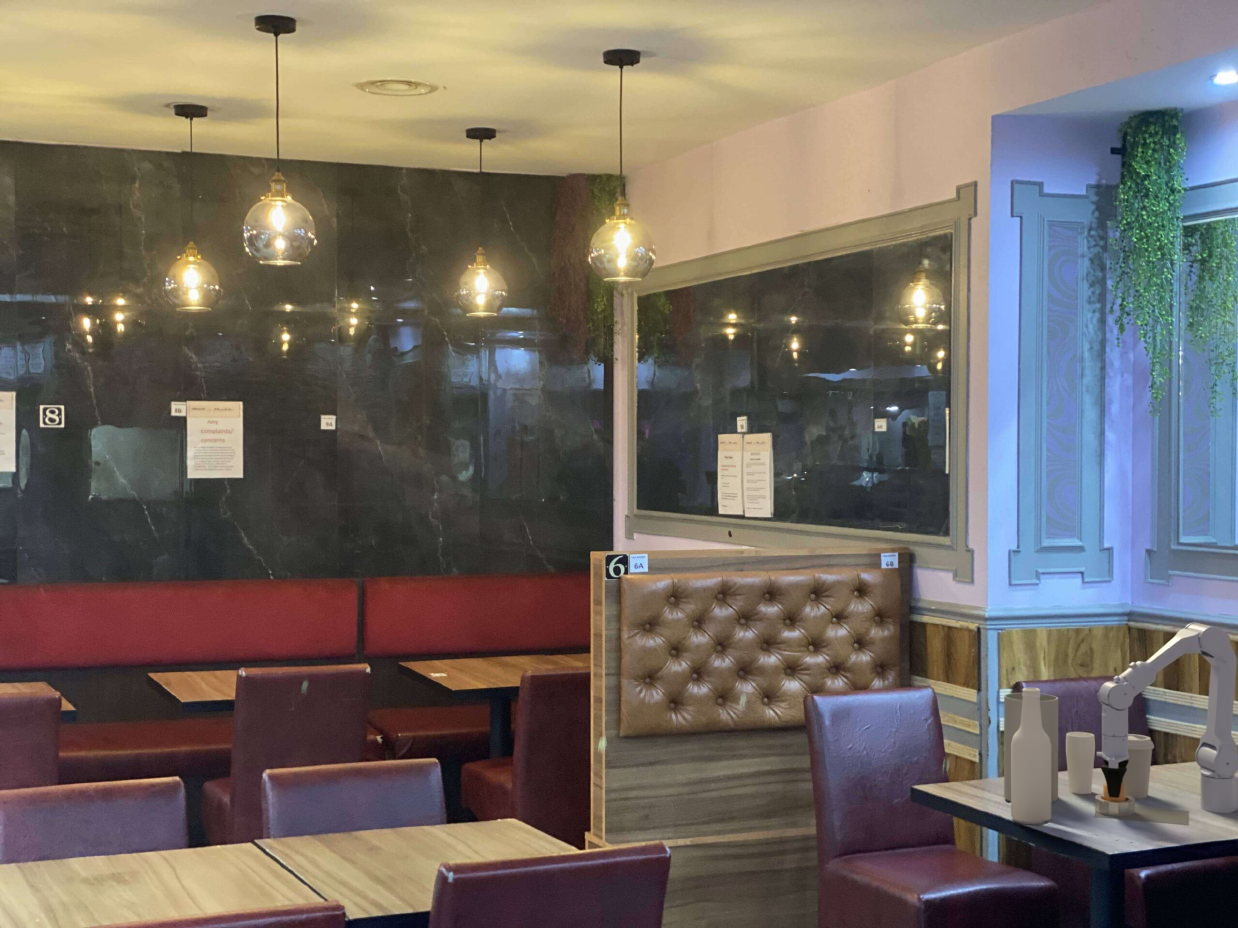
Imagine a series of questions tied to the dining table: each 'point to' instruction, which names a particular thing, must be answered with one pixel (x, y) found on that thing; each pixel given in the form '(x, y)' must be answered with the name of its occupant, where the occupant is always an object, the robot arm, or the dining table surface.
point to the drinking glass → (1080, 761)
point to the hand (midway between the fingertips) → (1114, 793)
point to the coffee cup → (1138, 766)
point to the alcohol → (1031, 765)
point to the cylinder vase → (1012, 726)
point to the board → (1154, 815)
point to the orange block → (1106, 797)
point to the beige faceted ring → (1115, 806)
